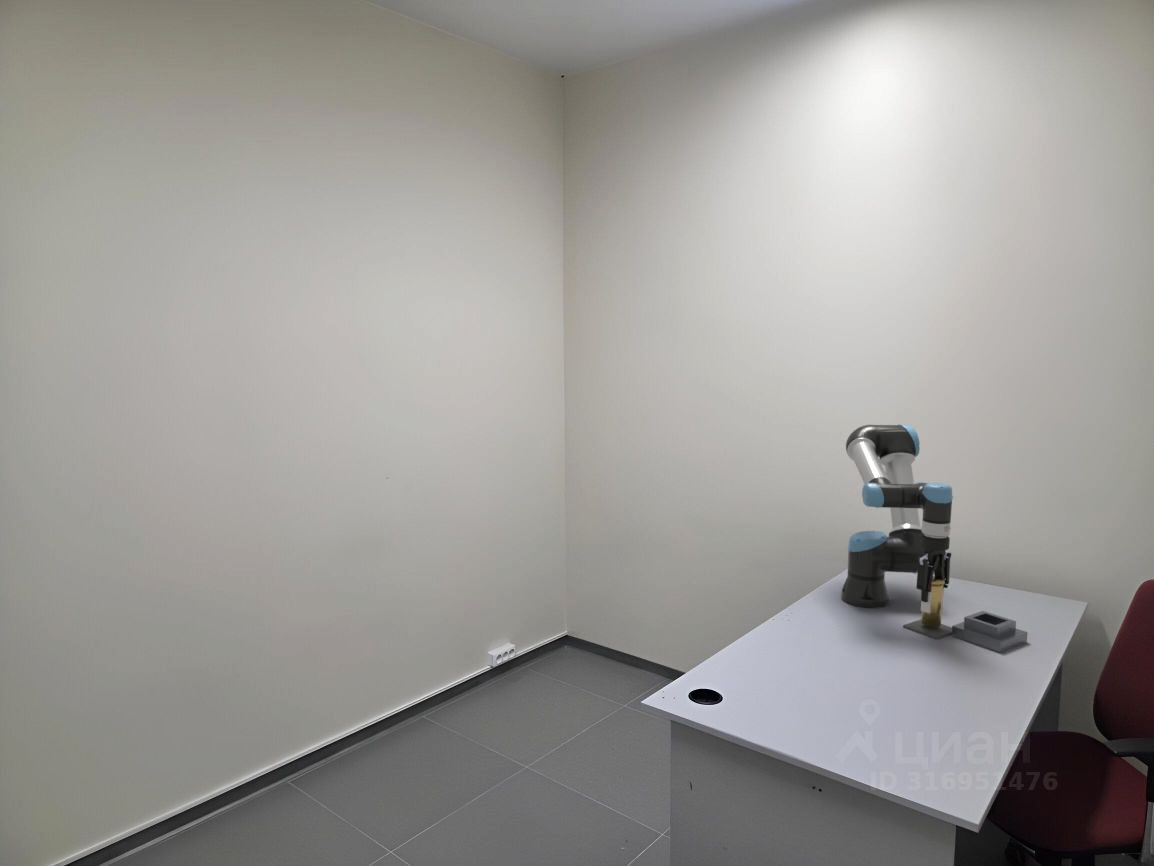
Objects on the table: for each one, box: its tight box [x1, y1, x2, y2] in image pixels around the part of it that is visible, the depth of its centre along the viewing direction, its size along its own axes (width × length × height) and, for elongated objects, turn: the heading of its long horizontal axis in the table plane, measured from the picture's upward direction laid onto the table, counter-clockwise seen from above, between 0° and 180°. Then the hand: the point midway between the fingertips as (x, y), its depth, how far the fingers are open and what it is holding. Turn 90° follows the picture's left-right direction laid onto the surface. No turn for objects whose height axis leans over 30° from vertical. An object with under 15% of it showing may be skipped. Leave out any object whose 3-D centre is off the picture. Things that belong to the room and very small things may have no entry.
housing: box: [951, 610, 1028, 654], centre depth 203 cm, size 14×14×6 cm
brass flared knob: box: [920, 575, 946, 627], centre depth 209 cm, size 6×6×14 cm
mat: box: [902, 618, 952, 640], centre depth 210 cm, size 11×11×1 cm
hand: (931, 609), depth 210 cm, fingers closed on brass flared knob, 5 cm apart
